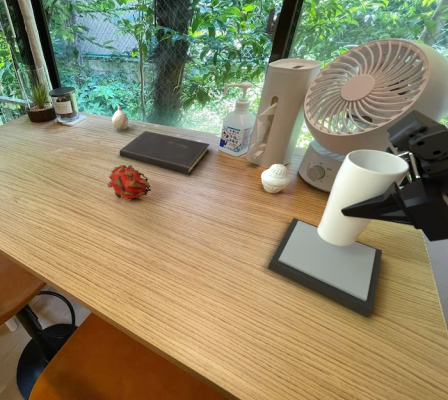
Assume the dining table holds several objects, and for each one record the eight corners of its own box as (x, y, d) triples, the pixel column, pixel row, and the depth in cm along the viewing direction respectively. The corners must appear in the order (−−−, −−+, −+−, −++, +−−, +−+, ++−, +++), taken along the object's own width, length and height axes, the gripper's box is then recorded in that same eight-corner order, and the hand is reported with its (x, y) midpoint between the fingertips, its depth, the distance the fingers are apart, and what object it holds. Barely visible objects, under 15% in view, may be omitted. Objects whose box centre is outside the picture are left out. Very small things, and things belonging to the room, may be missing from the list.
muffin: (258, 180, 66) (266, 156, 61) (285, 184, 63) (295, 160, 59) (256, 194, 61) (264, 169, 57) (285, 199, 59) (295, 174, 55)
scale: (376, 257, 45) (384, 248, 44) (365, 317, 38) (374, 308, 36) (290, 224, 53) (294, 215, 52) (267, 268, 45) (270, 259, 44)
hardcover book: (145, 136, 90) (145, 130, 89) (208, 150, 79) (209, 143, 78) (119, 157, 80) (119, 150, 79) (187, 175, 70) (188, 168, 68)
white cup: (330, 254, 41) (374, 177, 32) (302, 226, 46) (334, 153, 37) (370, 247, 41) (426, 169, 32) (338, 220, 47) (378, 145, 37)
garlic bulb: (132, 126, 98) (130, 105, 93) (123, 133, 94) (121, 111, 89) (117, 124, 101) (115, 104, 96) (108, 130, 97) (106, 109, 92)
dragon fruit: (111, 189, 70) (148, 209, 65) (94, 189, 62) (134, 211, 57) (123, 160, 68) (162, 178, 63) (107, 156, 60) (150, 176, 56)
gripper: (455, 71, 33) (319, 136, 45) (507, 125, 21) (306, 193, 33) (498, 139, 34) (354, 184, 46) (570, 226, 22) (352, 255, 34)
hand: (343, 200), depth 40 cm, fingers closed on white cup, 6 cm apart
